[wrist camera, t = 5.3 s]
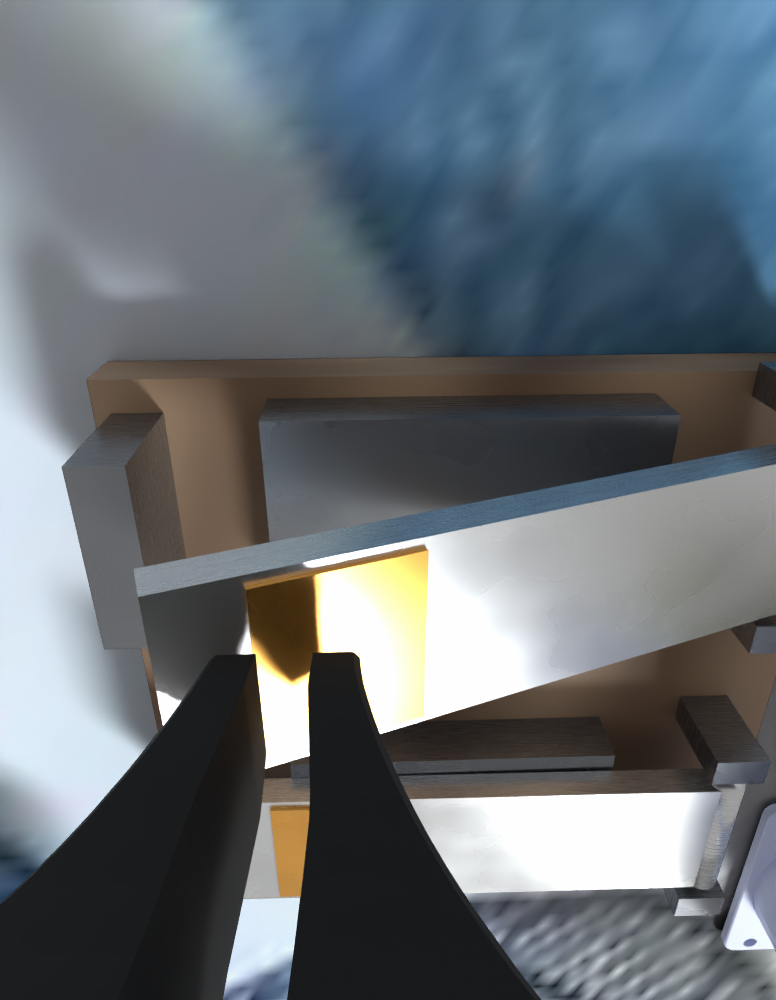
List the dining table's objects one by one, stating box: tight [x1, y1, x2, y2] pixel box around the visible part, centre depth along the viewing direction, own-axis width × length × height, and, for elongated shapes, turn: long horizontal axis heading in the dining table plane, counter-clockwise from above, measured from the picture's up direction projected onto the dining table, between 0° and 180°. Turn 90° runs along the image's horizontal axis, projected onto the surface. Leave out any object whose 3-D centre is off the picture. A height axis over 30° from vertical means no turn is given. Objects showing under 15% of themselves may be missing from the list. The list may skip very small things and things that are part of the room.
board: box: [87, 353, 776, 779], centre depth 20 cm, size 18×16×2 cm
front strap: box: [134, 444, 776, 768], centre depth 14 cm, size 14×4×1 cm, turn 90°
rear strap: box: [243, 769, 746, 899], centre depth 20 cm, size 14×4×1 cm, turn 90°
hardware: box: [62, 362, 776, 916], centre depth 18 cm, size 16×16×3 cm
